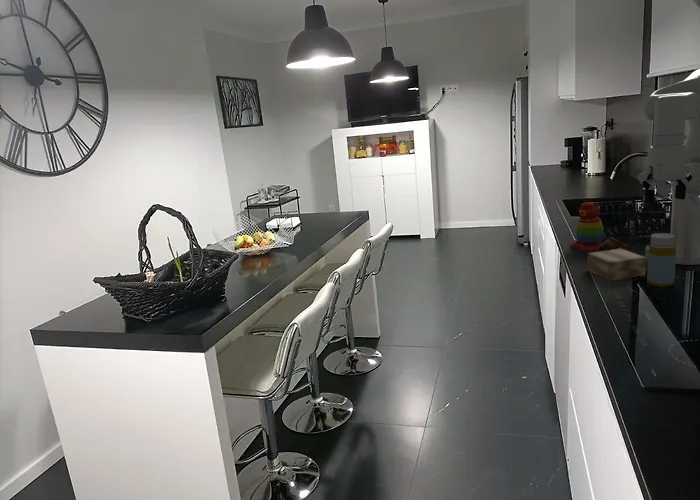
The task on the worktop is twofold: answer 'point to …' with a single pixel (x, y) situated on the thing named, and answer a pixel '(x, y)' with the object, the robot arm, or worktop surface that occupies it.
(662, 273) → the bottle
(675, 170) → the robot arm
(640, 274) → the chopping block
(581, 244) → the stacking bear
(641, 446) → the worktop surface
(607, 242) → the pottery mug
